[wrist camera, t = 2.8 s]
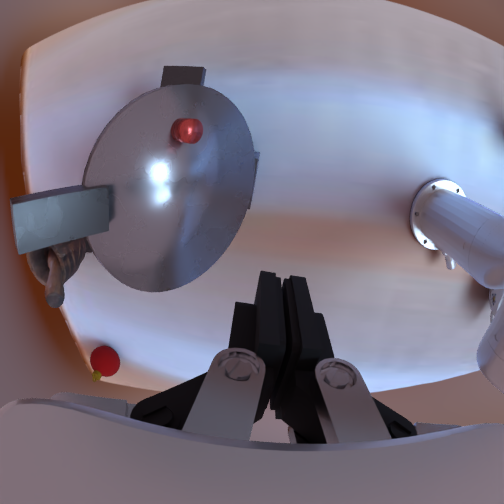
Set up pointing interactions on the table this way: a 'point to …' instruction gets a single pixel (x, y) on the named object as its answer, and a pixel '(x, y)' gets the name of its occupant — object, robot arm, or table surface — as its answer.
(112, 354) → the christmas ornament
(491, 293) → the teacup
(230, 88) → the table surface
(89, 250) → the mortar and pestle
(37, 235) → the lid
